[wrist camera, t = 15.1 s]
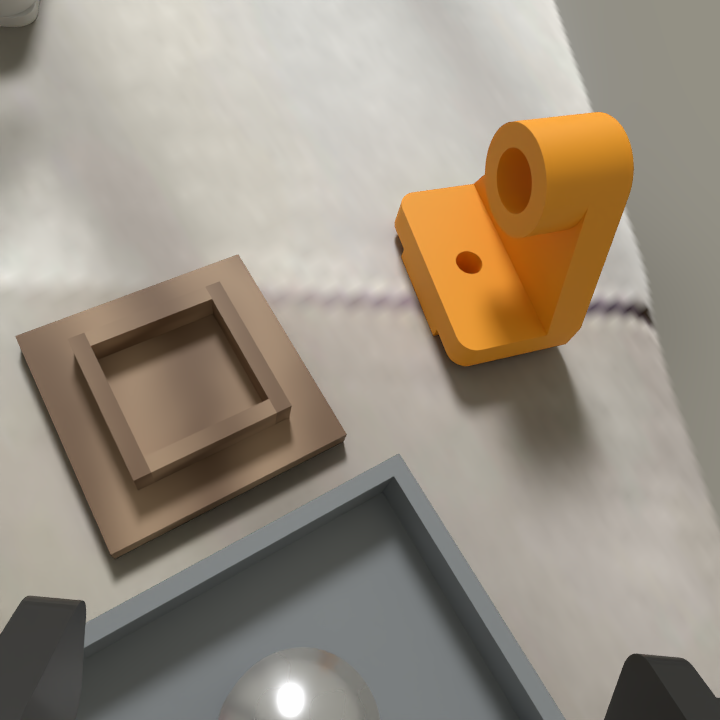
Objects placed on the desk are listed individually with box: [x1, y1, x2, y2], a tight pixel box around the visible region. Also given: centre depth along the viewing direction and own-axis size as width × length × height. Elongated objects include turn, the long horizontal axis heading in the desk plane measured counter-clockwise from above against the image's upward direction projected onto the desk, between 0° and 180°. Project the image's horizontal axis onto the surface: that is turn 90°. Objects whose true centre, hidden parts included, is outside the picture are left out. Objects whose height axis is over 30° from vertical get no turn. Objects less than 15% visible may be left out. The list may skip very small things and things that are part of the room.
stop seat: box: [15, 255, 347, 559], centre depth 32 cm, size 12×12×2 cm
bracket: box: [395, 112, 634, 366], centre depth 35 cm, size 11×7×12 cm
